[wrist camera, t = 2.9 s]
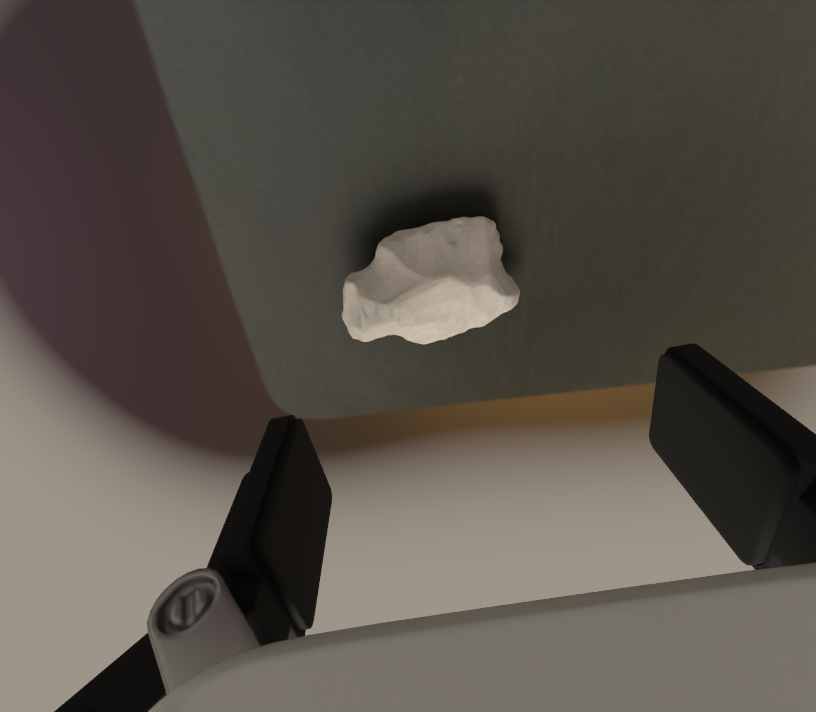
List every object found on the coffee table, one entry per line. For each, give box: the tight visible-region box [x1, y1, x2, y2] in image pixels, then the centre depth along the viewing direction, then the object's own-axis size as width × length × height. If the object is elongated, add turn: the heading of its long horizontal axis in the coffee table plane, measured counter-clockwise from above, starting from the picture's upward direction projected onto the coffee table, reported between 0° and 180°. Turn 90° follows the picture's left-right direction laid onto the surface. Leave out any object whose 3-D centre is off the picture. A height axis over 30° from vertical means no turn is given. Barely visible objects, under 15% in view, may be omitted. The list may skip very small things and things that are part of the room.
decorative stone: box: [342, 216, 520, 344], centre depth 20 cm, size 9×6×3 cm, turn 100°
